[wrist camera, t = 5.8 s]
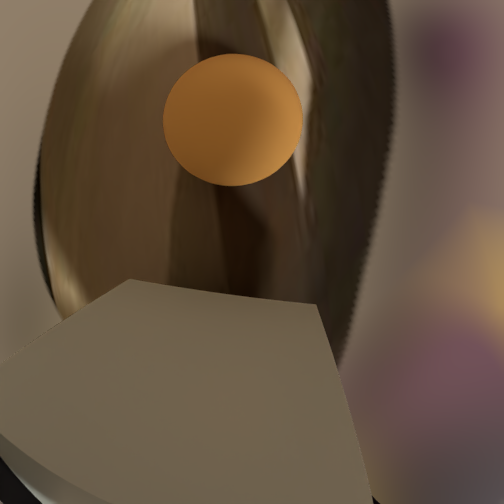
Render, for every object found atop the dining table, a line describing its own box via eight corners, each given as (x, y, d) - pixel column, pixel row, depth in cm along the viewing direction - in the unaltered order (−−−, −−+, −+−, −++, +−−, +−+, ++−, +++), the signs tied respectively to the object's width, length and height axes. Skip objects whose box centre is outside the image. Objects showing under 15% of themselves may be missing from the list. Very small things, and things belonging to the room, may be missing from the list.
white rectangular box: (284, 435, 12) (279, 584, 3) (143, 409, 12) (72, 529, 4) (315, 304, 10) (378, 530, 2) (129, 278, 11) (-40, 393, 2)
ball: (291, 193, 12) (302, 192, 7) (182, 183, 12) (128, 179, 7) (301, 89, 11) (314, 33, 6) (195, 83, 11) (154, 34, 6)
